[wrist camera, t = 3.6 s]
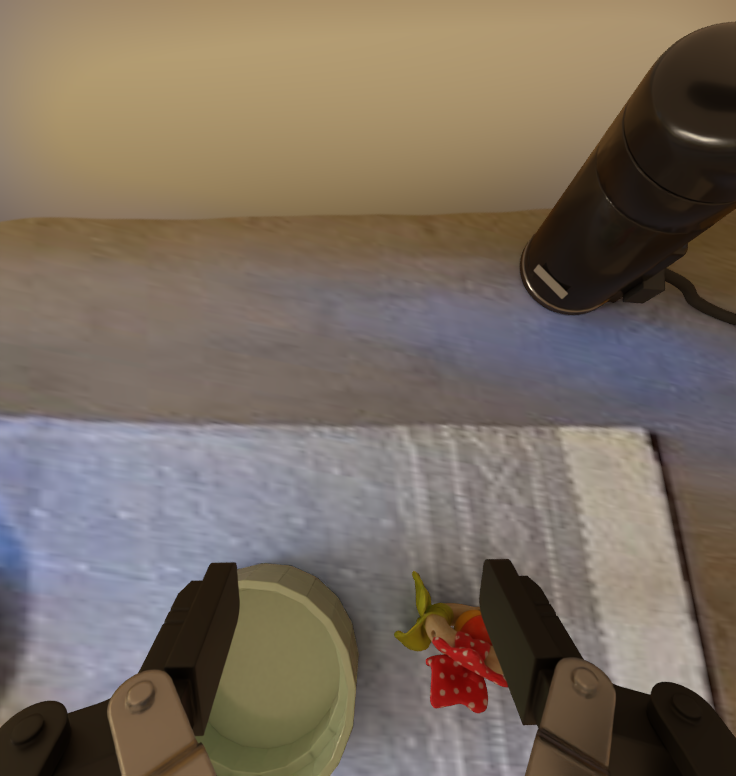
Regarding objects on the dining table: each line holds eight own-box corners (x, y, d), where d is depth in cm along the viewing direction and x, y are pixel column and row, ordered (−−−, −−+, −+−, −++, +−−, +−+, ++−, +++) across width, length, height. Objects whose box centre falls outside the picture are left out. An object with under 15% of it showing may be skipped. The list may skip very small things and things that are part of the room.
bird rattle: (473, 568, 38) (384, 565, 35) (576, 617, 28) (463, 619, 25) (467, 642, 37) (374, 647, 34) (571, 721, 27) (453, 737, 24)
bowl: (365, 570, 36) (363, 591, 30) (349, 770, 33) (344, 836, 28) (193, 554, 37) (158, 571, 31) (163, 750, 34) (119, 811, 28)
